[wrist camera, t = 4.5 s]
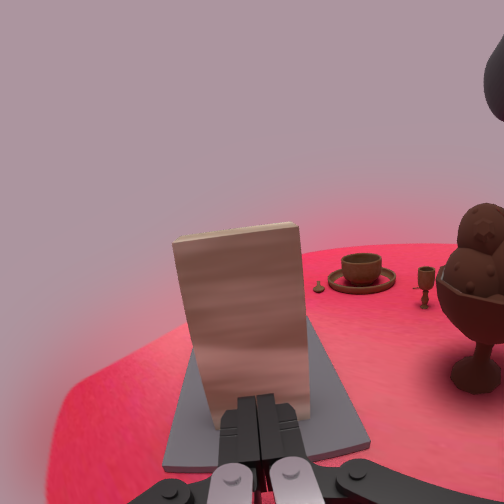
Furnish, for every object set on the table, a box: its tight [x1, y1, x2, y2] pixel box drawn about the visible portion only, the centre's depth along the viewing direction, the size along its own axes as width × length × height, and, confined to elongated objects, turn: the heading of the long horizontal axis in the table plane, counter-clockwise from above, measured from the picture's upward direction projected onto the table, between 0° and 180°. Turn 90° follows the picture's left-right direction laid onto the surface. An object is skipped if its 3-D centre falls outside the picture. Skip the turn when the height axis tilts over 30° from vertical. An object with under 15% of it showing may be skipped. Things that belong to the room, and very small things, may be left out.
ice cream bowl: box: [436, 203, 504, 394], centre depth 17 cm, size 11×11×15 cm
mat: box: [162, 316, 371, 473], centre depth 26 cm, size 22×14×1 cm, turn 2°
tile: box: [172, 222, 310, 430], centre depth 19 cm, size 3×7×14 cm, turn 92°
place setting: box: [313, 253, 435, 309], centre depth 44 cm, size 18×20×6 cm
